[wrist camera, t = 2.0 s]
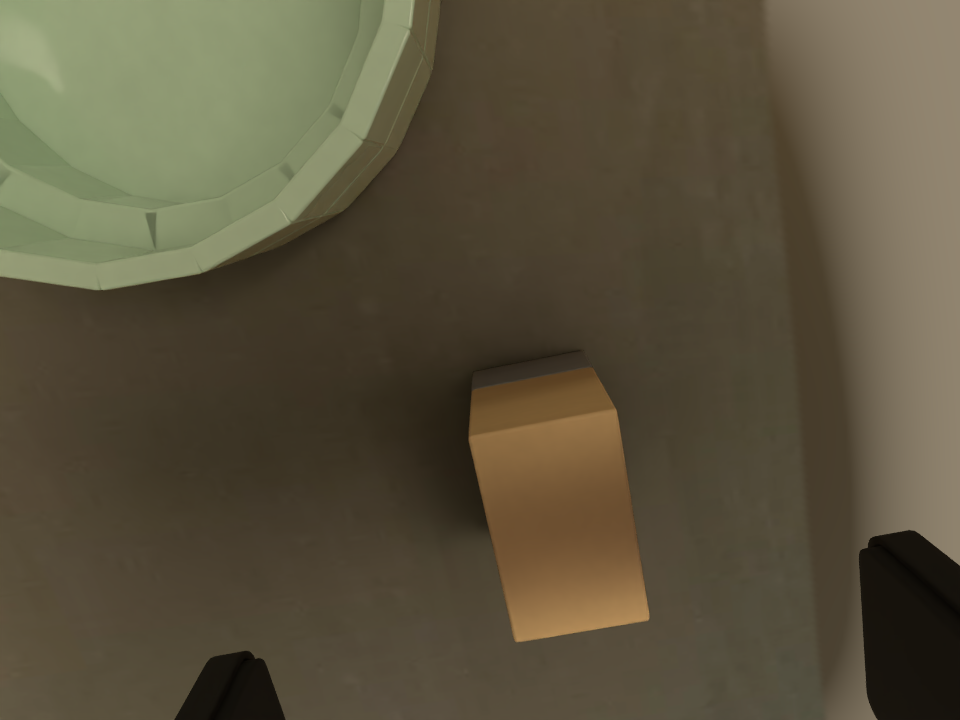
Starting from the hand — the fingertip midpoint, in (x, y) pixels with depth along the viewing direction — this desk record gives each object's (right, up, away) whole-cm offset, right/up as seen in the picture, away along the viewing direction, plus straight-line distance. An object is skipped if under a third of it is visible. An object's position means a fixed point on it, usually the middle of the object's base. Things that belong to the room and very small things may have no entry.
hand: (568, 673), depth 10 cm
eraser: (0, +2, +8) cm, 8 cm away
